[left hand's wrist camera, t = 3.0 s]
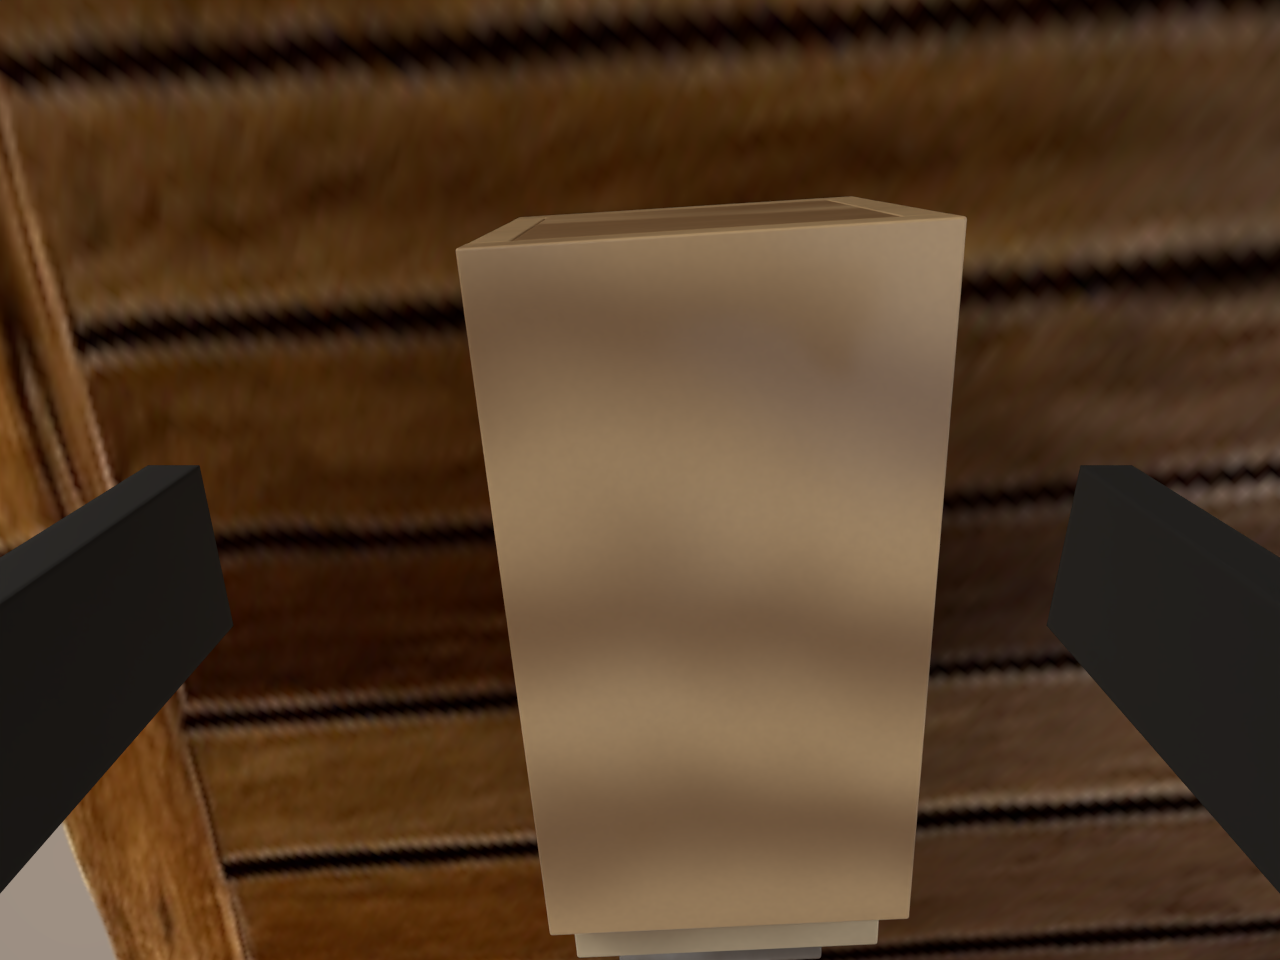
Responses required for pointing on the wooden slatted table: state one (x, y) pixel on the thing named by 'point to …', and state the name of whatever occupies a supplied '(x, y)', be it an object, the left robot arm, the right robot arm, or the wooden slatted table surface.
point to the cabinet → (719, 546)
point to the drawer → (729, 942)
